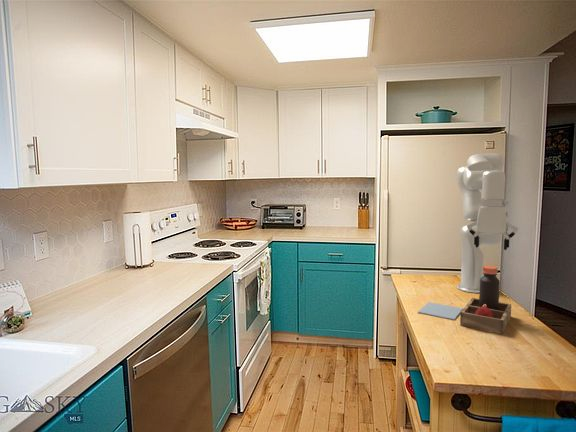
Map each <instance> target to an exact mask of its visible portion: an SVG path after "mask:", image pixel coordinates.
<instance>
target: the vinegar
mask: <svg viewBox="0 0 576 432" xmlns="http://www.w3.org/2000/svg"><path fill="white" fill-rule="evenodd" d="M497 275H498V267H497V266H492V265H483V277H482V278H480V293H478V294H479V295H478V296H479V298H478V299H479V307H482V306H483V305H484V304H486V305H487V306H486V307H487V308H489V309H494V310H498V309H499V302H500V284H501V283H500V280H499V278H498V277H497Z"/></svg>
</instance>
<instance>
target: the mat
mask: <svg viewBox="0 0 576 432" xmlns="http://www.w3.org/2000/svg"><path fill="white" fill-rule="evenodd" d="M463 309H464V308H463V307H457V306H452V305H447V304H441V303H436V302H432V301H431V302H430V301H428V302H427V303H425V305H424V306H423V307H421V309H419V310H418V311H417V313H418V314H421V315H426V316H432V317H436V318H441V319H446V320H451V321H455V320H456V319H457V318H458V316H459V315H461V311H462V310H463Z"/></svg>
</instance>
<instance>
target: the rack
mask: <svg viewBox="0 0 576 432" xmlns="http://www.w3.org/2000/svg"><path fill="white" fill-rule="evenodd" d="M478 308H480V307H479V298H477V297H476V298H475V297H472V298H470V300H469V301H468V302H467V304H466V305H465V306H464V308H463V310H462V311H461V313H460V314H459V315H460V321H459V322H460V324H459V326H460V327H466V328H470V329H476V330H480V331H485V332H490V333H494V334H495V333H496V334H499V335H504V334H505V331H506V328H507V326H508V324H509V322H510V320H511V317H512V316H511V315H512V303H505V302H500V301H499V309H498V310H494V309H490V310H491V312H492V314H493V318H492V317H487V316H481V315H476V314H475V313H476V310H477V309H478Z"/></svg>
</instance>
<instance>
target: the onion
mask: <svg viewBox="0 0 576 432" xmlns="http://www.w3.org/2000/svg"><path fill="white" fill-rule="evenodd" d="M486 306H487V305H486V304H484V305H483V306H482V307H480V308H478V309H477V310H476V313H475V314H476V315H481V316H487V317H492V318H493V314H492V312H491V310H490V309H489V308H487V307H486Z"/></svg>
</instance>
